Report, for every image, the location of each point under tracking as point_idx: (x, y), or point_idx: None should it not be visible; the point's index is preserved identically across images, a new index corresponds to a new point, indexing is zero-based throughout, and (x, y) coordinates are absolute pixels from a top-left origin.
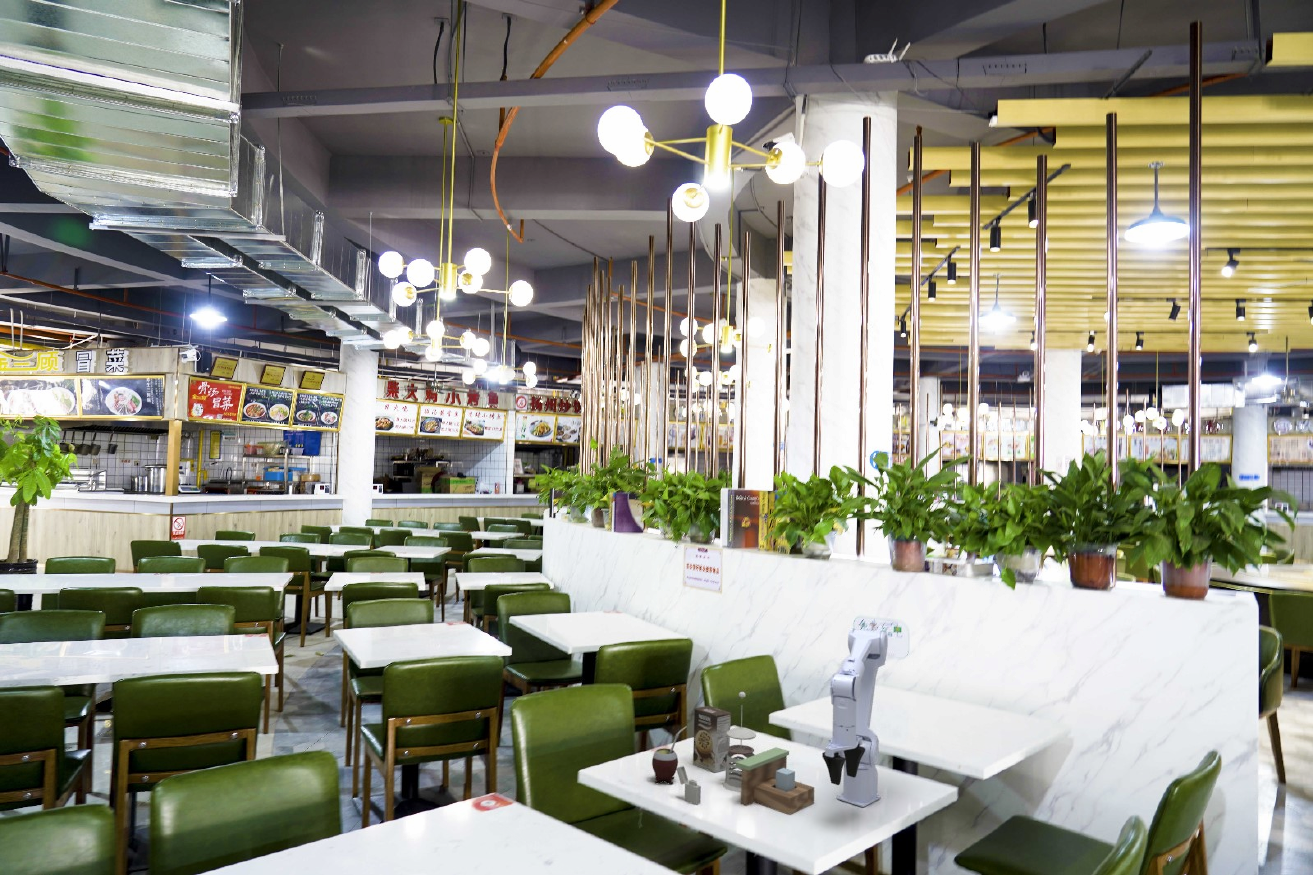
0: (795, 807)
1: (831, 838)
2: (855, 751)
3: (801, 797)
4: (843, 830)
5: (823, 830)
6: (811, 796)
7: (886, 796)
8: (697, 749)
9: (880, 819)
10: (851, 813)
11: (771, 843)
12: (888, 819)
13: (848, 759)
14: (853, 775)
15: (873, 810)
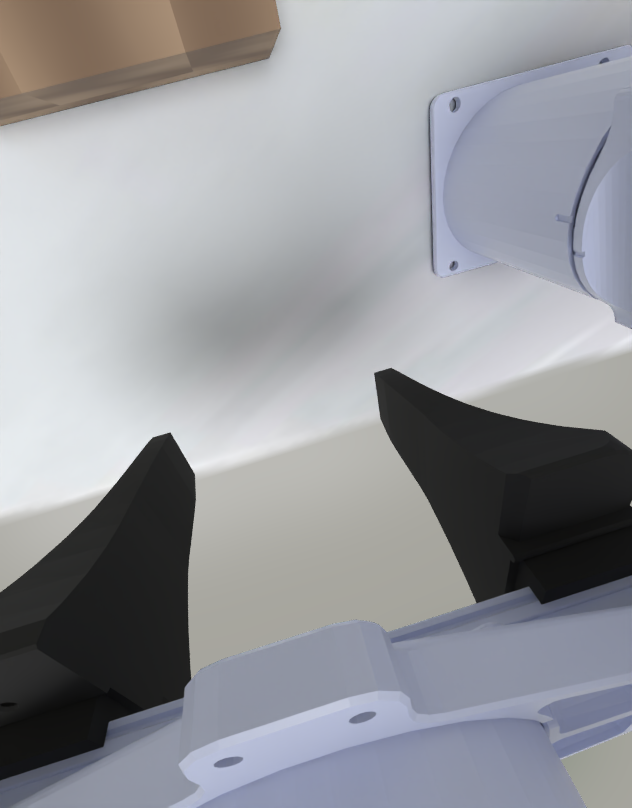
0: (42, 109)
1: (92, 437)
2: (485, 582)
3: (101, 80)
4: (186, 403)
5: (99, 374)
6: (239, 53)
7: None
8: None
9: None
10: (343, 294)
11: None
12: None
13: (434, 450)
14: (385, 419)
15: (444, 313)
